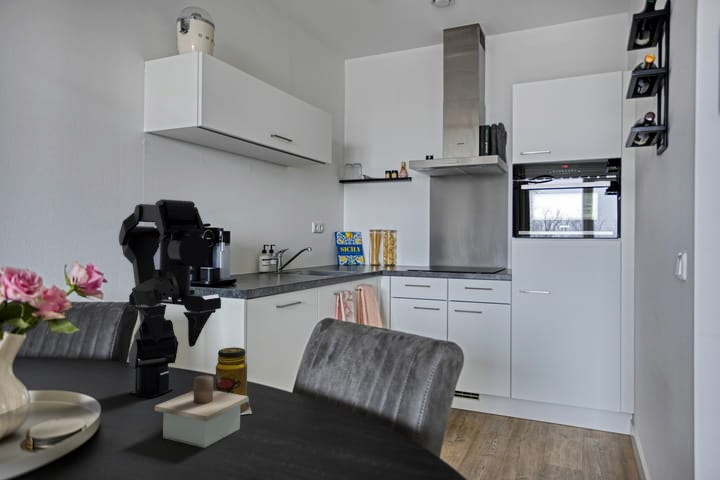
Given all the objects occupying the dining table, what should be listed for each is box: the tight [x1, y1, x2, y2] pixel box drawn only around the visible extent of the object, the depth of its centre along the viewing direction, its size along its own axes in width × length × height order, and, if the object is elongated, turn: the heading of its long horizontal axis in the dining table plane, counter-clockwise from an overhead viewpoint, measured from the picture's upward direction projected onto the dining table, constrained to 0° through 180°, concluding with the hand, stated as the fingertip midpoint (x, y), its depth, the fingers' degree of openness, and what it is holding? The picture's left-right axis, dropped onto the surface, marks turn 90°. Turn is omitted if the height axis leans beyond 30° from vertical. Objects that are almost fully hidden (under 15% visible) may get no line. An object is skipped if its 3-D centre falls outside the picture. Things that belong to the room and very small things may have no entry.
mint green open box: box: [162, 405, 241, 449], centre depth 85 cm, size 9×9×5 cm
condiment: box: [214, 346, 253, 416], centre depth 98 cm, size 7×8×12 cm
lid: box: [154, 374, 249, 421], centre depth 85 cm, size 11×11×5 cm
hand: (173, 343), depth 96 cm, fingers open, 9 cm apart
